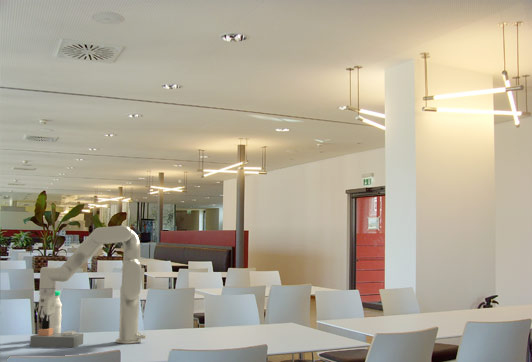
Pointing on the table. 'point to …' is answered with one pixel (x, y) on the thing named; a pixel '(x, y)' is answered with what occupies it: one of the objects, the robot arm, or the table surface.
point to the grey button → (69, 333)
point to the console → (56, 340)
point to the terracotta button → (45, 332)
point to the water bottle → (56, 315)
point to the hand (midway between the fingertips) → (45, 328)
